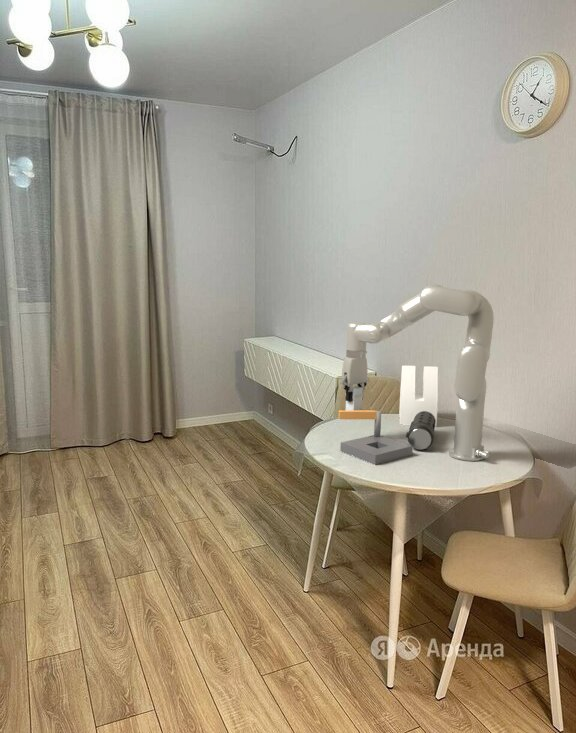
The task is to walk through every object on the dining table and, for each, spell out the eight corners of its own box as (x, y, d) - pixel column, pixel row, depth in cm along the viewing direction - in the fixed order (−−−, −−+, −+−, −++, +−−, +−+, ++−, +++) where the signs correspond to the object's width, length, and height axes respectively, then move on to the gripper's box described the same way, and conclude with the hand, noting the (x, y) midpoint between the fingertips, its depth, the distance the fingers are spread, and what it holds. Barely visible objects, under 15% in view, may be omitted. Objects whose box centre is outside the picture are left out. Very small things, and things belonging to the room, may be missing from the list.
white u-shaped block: (436, 427, 248) (439, 370, 244) (400, 425, 250) (402, 369, 246) (432, 416, 266) (435, 363, 262) (399, 414, 269) (401, 362, 265)
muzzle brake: (412, 433, 241) (437, 431, 238) (406, 452, 215) (434, 450, 212) (409, 411, 240) (434, 409, 237) (403, 428, 214) (431, 425, 211)
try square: (379, 434, 221) (380, 410, 220) (380, 436, 219) (381, 411, 218) (338, 434, 221) (338, 410, 219) (338, 436, 218) (339, 411, 217)
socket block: (412, 455, 209) (412, 445, 209) (375, 464, 198) (375, 455, 198) (376, 443, 224) (377, 434, 223) (340, 451, 212) (340, 442, 212)
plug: (362, 412, 225) (363, 387, 223) (353, 414, 222) (354, 389, 220) (353, 410, 229) (354, 385, 227) (344, 411, 226) (345, 386, 224)
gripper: (365, 351, 229) (363, 396, 232) (332, 354, 219) (331, 401, 222) (378, 354, 223) (376, 399, 226) (346, 357, 213) (344, 405, 216)
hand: (354, 399), depth 224 cm, fingers closed on plug, 4 cm apart
